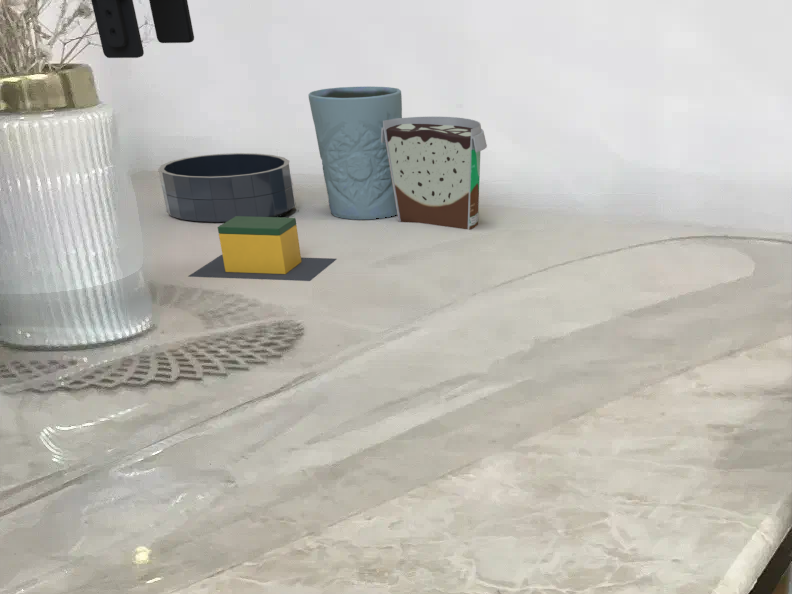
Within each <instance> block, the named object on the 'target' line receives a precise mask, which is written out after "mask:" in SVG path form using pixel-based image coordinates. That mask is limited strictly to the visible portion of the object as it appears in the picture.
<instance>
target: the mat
mask: <svg viewBox="0 0 792 594" xmlns="http://www.w3.org/2000/svg"><path fill="white" fill-rule="evenodd" d="M337 260H338V258H331V257H330V258H327V257H302V256H301V261H302V262H301V263H300V264H298V265H297V266H296V267H294V268H293V269H292V270H290V271H289V272H288V273H286V274H266V273H238V272H225V266H224V261H223V255H222V254H220V255H219V256H217V257H216V258H214V259H212V260H211V261H209V262H208V263H206V264H205V265H202V266H201V267H200V268H199V269H197V270H195V271H193V272H192V273H191V274H189V275H188V276H187V277H189V278H212V279H213V278H217V279H218V278H219V279H242V280H269V281H299V282H311V281H312V280H313V279H314V278H316V277H318V276H319V275H320V274H321V273H322V272H323V271H325V270H326V269H327V268H328V267H329V266H331V265H332V264H333V263H335V262H336V261H337Z"/></svg>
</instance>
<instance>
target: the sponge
mask: <svg viewBox="0 0 792 594" xmlns="http://www.w3.org/2000/svg"><path fill="white" fill-rule="evenodd" d="M217 232H218V238H219V243H220V249H221V255H223V261H224V266H225V272H238V273H266V274H286V273H288V272H289V271H290V270H292V269H293V268H294V267H296V266H297V265H298V264H300V263H301V262H302V261H301V257H302V255H301V248H300V240H299V233H298V226H297V219H296V217H282V216H280V217H249V216H236V217H234V218H232V219H230V220H229V221H227V222H223V223H222V224H220V225H219V226H217Z"/></svg>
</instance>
